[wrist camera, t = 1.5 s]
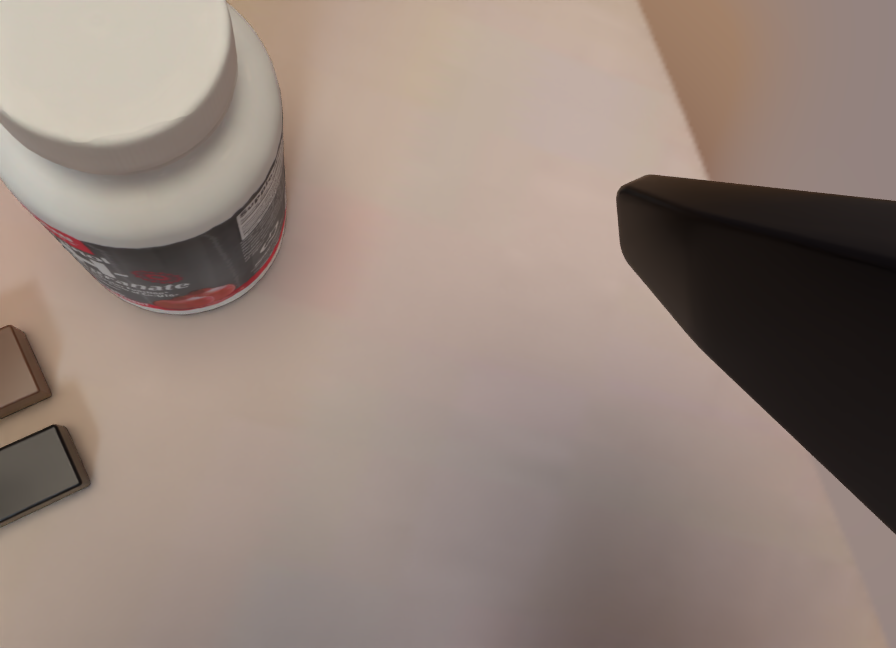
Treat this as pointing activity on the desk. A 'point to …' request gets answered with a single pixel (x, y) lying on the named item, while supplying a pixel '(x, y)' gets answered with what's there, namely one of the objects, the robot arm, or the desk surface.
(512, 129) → the desk surface
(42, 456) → the black-handled fork
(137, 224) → the pill bottle
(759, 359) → the robot arm
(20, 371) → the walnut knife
